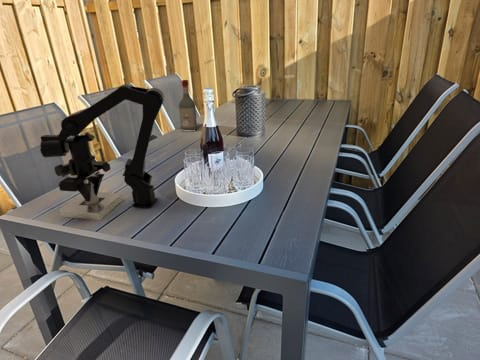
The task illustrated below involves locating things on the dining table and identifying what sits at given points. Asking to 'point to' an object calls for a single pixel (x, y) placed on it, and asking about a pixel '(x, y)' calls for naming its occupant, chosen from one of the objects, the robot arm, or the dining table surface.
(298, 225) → the dining table surface
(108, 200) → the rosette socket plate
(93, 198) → the rook chess piece
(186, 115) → the liquor
